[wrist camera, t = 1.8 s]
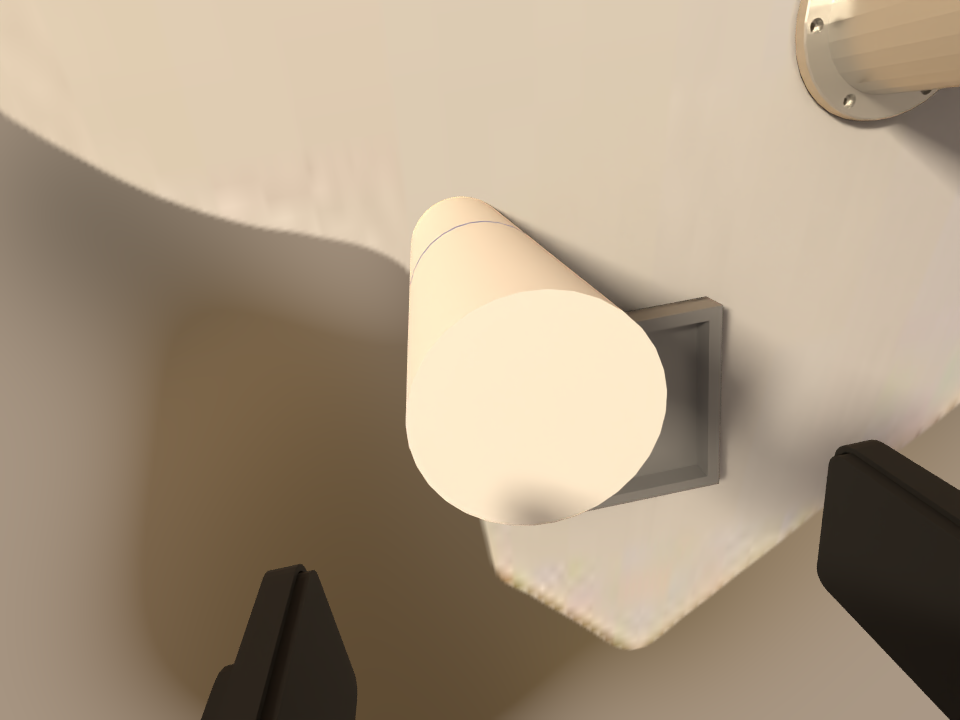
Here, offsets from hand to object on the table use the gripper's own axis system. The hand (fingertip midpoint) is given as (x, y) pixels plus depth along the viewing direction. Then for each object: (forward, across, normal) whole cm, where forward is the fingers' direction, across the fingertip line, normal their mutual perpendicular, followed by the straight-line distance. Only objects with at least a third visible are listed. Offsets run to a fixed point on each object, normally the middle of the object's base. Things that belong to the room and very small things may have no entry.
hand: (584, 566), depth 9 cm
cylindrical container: (+30, -1, 0) cm, 30 cm away
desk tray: (+30, -11, +15) cm, 35 cm away
